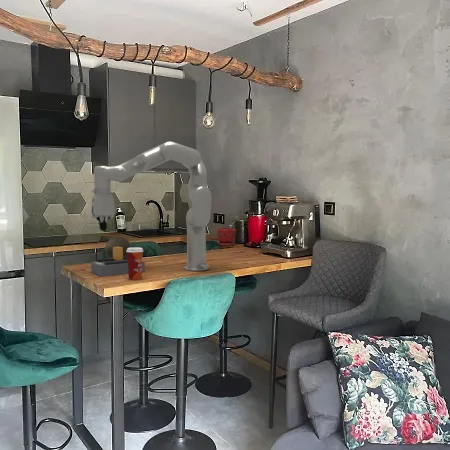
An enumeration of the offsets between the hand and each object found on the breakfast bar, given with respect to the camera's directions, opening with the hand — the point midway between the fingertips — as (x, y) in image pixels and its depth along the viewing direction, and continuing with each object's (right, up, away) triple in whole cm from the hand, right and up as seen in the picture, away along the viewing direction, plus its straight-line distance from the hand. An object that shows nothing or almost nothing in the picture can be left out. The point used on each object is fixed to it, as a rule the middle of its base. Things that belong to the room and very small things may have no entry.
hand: (103, 230), depth 220 cm
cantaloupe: (+2, -19, +25) cm, 32 cm away
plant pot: (+59, -12, +109) cm, 125 cm away
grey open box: (+6, -20, +6) cm, 22 cm away
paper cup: (+17, -22, -10) cm, 30 cm away
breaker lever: (+6, -16, +5) cm, 18 cm away
